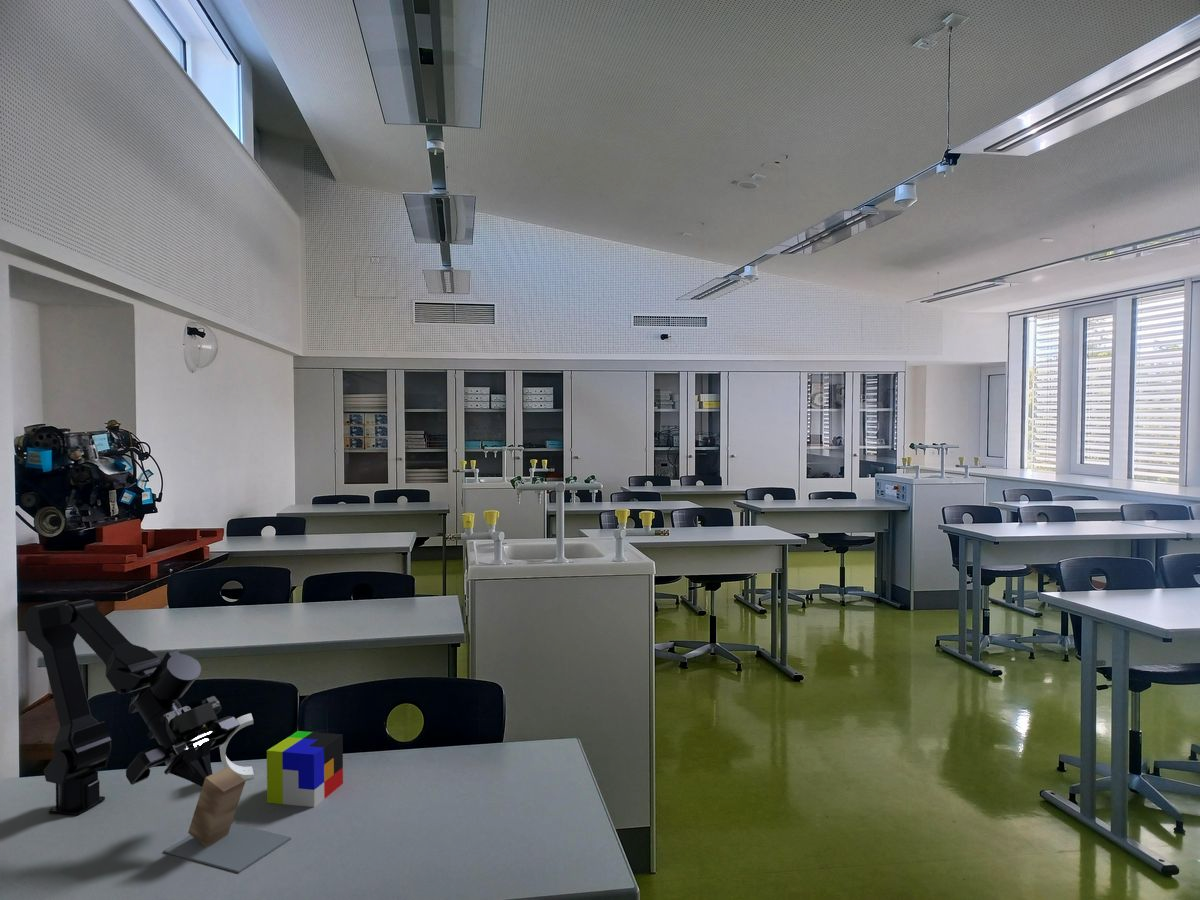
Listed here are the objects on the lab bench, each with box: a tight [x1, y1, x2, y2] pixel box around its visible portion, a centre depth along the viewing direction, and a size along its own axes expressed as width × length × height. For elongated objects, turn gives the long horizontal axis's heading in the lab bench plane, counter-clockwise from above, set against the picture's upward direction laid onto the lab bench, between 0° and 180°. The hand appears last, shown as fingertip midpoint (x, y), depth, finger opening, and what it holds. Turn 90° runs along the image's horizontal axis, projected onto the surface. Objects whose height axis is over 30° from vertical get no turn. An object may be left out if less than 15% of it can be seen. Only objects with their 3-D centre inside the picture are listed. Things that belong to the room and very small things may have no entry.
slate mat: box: [163, 822, 292, 874], centre depth 127 cm, size 17×11×1 cm, turn 68°
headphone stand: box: [219, 712, 255, 781], centre depth 153 cm, size 5×6×12 cm
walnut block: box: [187, 767, 247, 847], centre depth 128 cm, size 4×4×11 cm
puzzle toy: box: [266, 730, 344, 808], centre depth 146 cm, size 10×10×10 cm
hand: (211, 787), depth 128 cm, fingers closed
